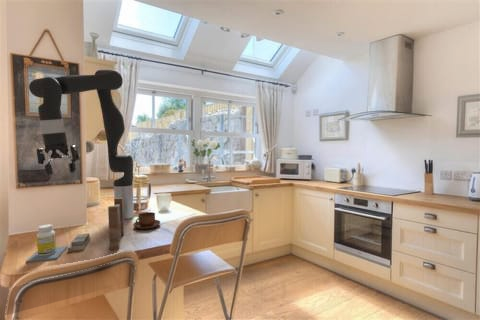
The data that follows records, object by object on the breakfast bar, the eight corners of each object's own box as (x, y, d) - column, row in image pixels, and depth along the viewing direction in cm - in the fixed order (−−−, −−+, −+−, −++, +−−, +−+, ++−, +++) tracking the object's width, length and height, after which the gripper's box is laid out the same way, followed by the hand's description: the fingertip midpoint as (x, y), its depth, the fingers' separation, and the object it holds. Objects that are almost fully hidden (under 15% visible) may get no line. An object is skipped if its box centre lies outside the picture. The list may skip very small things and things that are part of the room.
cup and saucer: (152, 231, 121) (151, 218, 121) (127, 230, 124) (127, 217, 123) (164, 224, 133) (164, 211, 132) (142, 222, 135) (142, 210, 135)
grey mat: (39, 250, 100) (39, 249, 100) (67, 247, 103) (67, 246, 103) (25, 262, 90) (25, 261, 90) (57, 259, 93) (57, 257, 93)
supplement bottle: (43, 250, 99) (42, 223, 98) (59, 249, 99) (58, 223, 99) (33, 256, 93) (32, 228, 93) (50, 256, 94) (49, 228, 93)
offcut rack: (78, 239, 112) (76, 200, 111) (123, 234, 117) (122, 197, 116) (65, 255, 96) (63, 210, 95) (118, 249, 101) (117, 206, 100)
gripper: (77, 130, 108) (84, 169, 111) (40, 132, 108) (48, 172, 111) (67, 131, 101) (75, 173, 104) (27, 134, 100) (36, 177, 103)
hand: (61, 173), depth 107 cm, fingers open, 8 cm apart
